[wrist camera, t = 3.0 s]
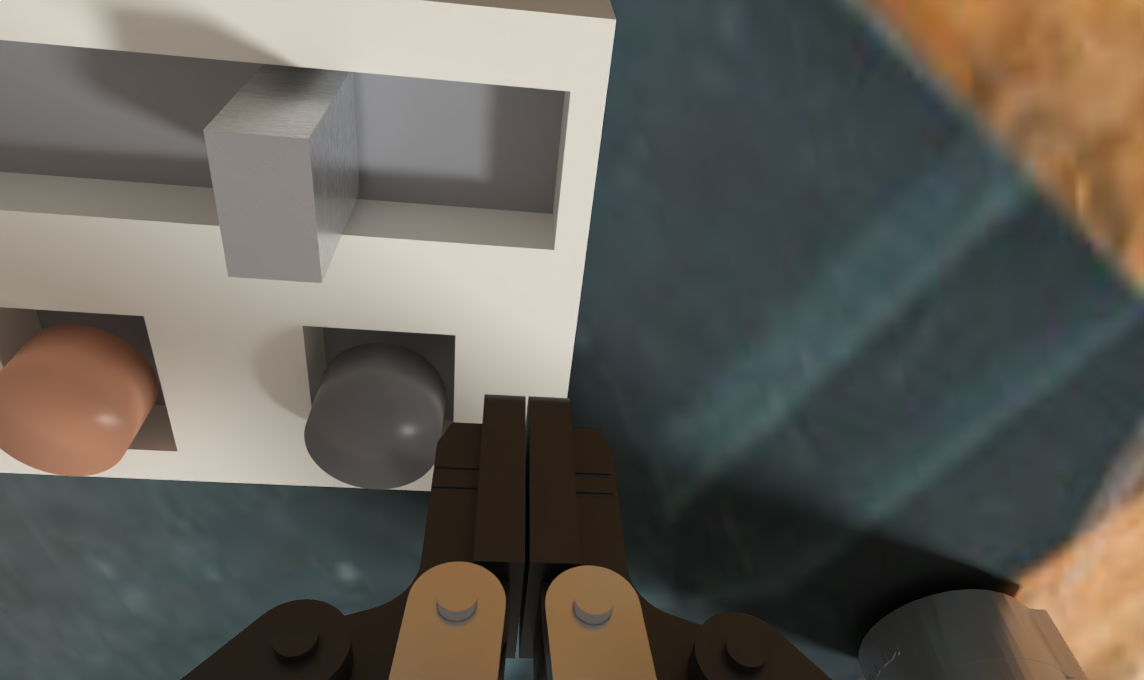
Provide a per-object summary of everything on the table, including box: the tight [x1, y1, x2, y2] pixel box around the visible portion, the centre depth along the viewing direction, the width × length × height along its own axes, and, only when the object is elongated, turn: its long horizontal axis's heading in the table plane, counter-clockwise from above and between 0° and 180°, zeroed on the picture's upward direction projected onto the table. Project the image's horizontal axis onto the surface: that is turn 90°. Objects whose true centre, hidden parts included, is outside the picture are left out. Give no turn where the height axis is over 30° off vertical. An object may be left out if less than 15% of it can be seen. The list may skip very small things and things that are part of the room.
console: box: [0, 0, 616, 491], centre depth 27 cm, size 23×18×4 cm
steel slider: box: [203, 64, 360, 283], centre depth 22 cm, size 2×4×6 cm, turn 174°
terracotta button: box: [0, 324, 158, 476], centre depth 26 cm, size 4×4×3 cm
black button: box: [304, 343, 446, 489], centre depth 27 cm, size 4×4×3 cm
